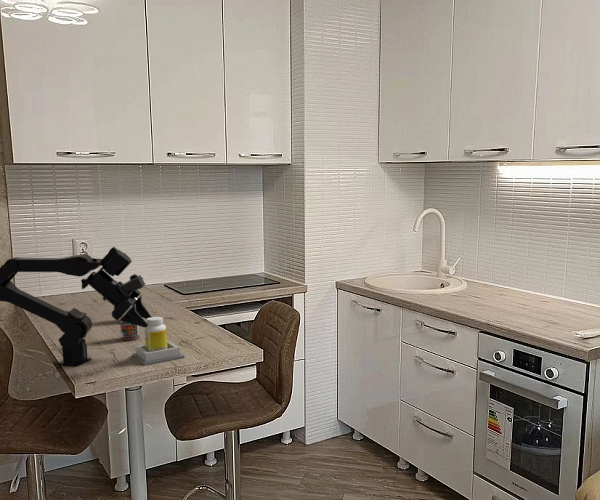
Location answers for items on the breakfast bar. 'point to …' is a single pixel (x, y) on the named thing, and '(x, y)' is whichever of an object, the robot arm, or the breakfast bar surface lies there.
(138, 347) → the socket block
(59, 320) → the robot arm
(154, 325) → the pill bottle
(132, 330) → the supplement bottle
